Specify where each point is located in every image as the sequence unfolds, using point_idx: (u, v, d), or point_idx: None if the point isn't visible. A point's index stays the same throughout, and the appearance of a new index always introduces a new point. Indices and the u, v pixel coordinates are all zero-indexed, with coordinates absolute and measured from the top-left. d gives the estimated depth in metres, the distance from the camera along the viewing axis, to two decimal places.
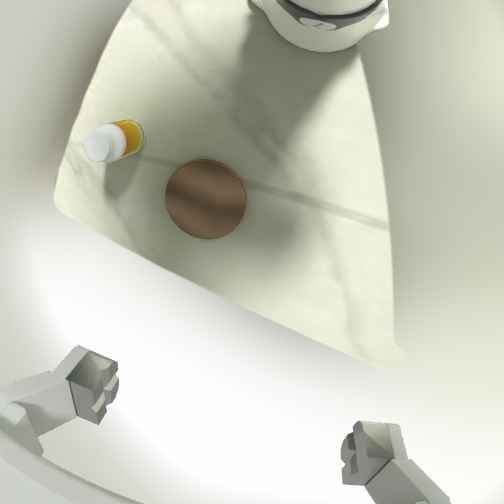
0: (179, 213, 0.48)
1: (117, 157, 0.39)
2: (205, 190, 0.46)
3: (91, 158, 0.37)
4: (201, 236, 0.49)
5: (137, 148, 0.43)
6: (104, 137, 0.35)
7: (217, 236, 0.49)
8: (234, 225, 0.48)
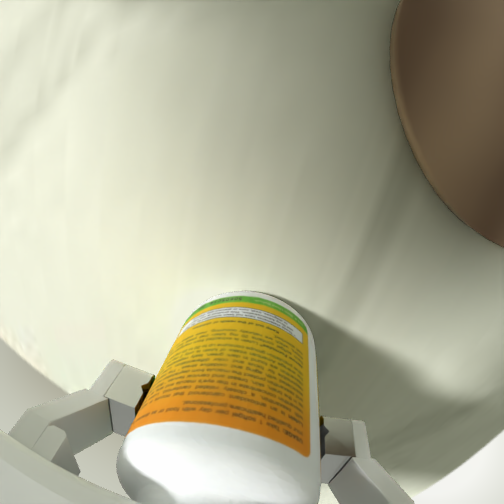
0: None
1: (302, 486, 0.06)
2: None
3: None
4: None
5: (296, 338, 0.10)
6: None
7: None
8: None
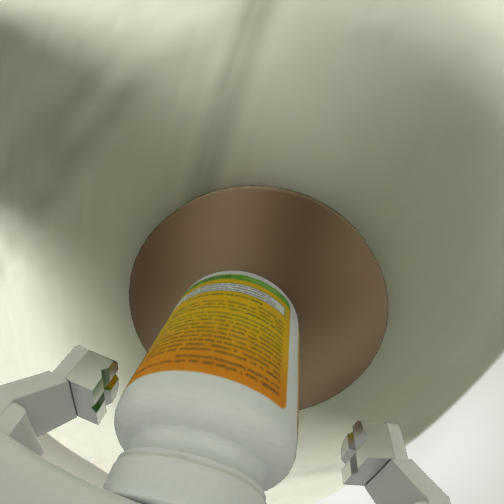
0: None
1: (277, 433, 0.07)
2: None
3: None
4: (372, 347, 0.14)
5: (278, 311, 0.11)
6: None
7: (383, 300, 0.13)
8: (351, 237, 0.12)
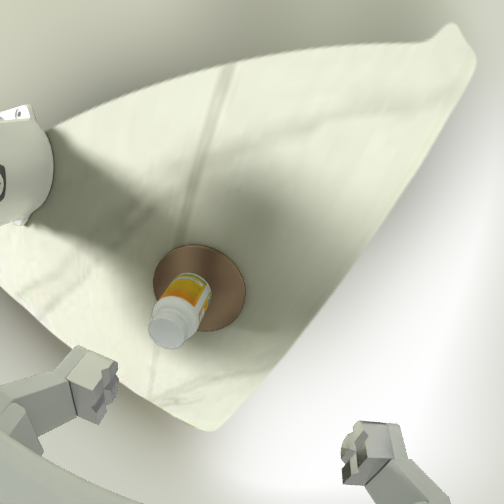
0: (212, 319, 0.42)
1: (190, 311, 0.33)
2: None
3: (179, 343, 0.32)
4: (240, 302, 0.40)
5: (200, 285, 0.38)
6: (154, 320, 0.31)
7: (240, 284, 0.39)
8: (225, 262, 0.39)
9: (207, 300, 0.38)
